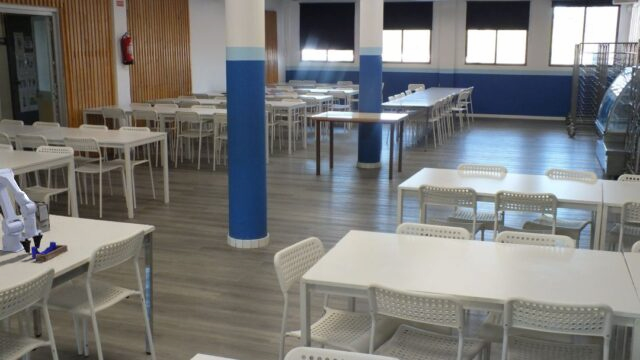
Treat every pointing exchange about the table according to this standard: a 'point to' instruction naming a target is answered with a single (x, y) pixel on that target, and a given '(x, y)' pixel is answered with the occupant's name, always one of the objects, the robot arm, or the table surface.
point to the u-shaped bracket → (52, 253)
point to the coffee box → (42, 217)
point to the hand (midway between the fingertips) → (32, 250)
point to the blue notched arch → (46, 251)
